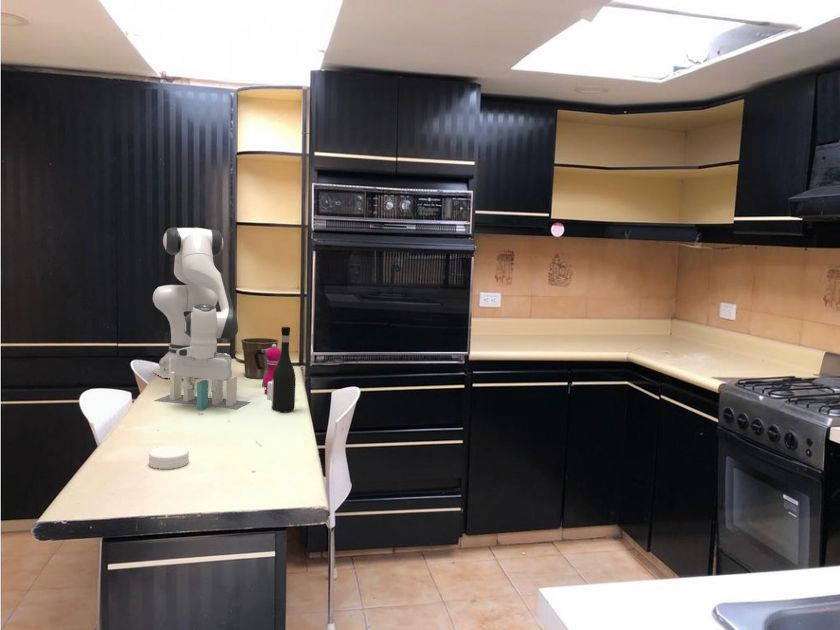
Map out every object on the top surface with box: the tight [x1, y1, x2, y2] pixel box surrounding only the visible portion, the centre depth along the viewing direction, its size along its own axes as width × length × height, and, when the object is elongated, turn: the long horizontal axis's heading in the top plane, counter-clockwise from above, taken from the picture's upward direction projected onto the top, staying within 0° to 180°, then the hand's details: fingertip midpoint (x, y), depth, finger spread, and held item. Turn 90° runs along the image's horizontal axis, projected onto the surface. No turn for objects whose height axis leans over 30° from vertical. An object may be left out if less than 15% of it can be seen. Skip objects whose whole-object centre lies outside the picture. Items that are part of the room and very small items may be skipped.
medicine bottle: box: [266, 370, 275, 402], centre depth 252 cm, size 7×7×12 cm
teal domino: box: [196, 379, 210, 411], centre depth 233 cm, size 2×5×10 cm, turn 169°
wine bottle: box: [271, 326, 297, 413], centre depth 237 cm, size 8×8×30 cm
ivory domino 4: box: [225, 375, 238, 406], centre depth 241 cm, size 2×5×10 cm, turn 169°
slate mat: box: [153, 394, 251, 411], centre depth 243 cm, size 32×12×1 cm, turn 79°
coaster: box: [148, 445, 190, 470], centre depth 178 cm, size 10×10×4 cm
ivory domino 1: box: [169, 372, 182, 400], centre depth 245 cm, size 2×5×10 cm, turn 169°
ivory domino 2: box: [182, 377, 196, 402], centre depth 244 cm, size 2×5×10 cm, turn 170°
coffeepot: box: [254, 343, 281, 388], centre depth 275 cm, size 15×9×18 cm, turn 129°
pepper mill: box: [263, 344, 281, 395], centre depth 261 cm, size 7×7×20 cm
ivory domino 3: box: [211, 379, 224, 405], centre depth 242 cm, size 2×5×10 cm, turn 169°
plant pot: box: [240, 337, 280, 380], centre depth 293 cm, size 16×16×16 cm
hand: (202, 390), depth 233 cm, fingers open, 7 cm apart
